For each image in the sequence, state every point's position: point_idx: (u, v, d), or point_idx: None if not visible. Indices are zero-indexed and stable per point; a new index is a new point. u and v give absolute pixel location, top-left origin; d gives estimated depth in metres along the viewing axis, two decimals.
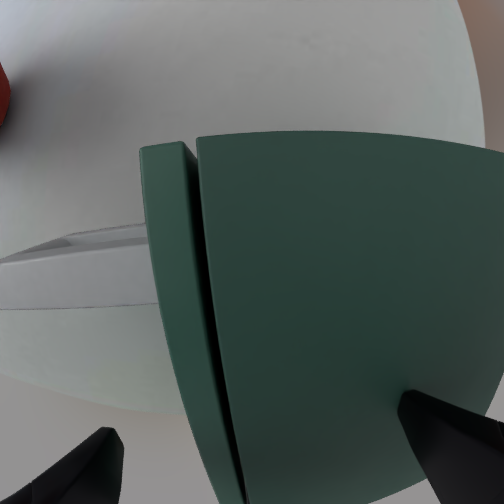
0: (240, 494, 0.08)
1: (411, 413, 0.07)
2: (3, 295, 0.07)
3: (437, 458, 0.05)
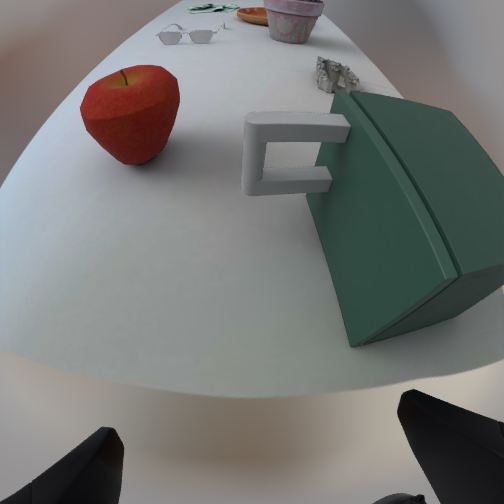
0: (425, 207, 0.13)
1: (411, 413, 0.07)
2: (267, 118, 0.17)
3: (437, 458, 0.05)
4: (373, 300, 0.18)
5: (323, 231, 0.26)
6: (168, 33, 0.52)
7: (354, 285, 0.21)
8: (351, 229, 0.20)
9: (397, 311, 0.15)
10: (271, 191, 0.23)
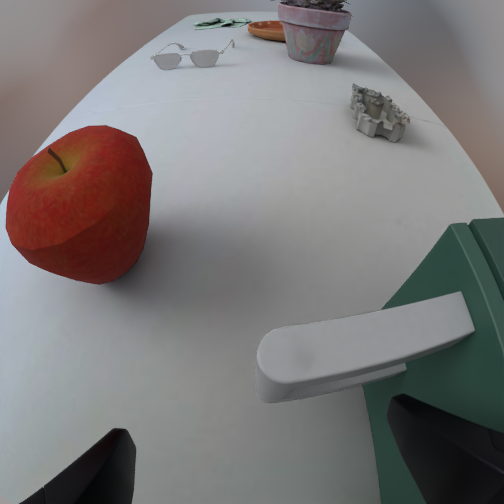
0: None
1: (400, 417, 0.07)
2: (313, 359, 0.07)
3: (425, 464, 0.05)
4: None
5: (375, 410, 0.15)
6: (165, 55, 0.46)
7: (404, 503, 0.09)
8: None
9: None
10: (305, 397, 0.12)
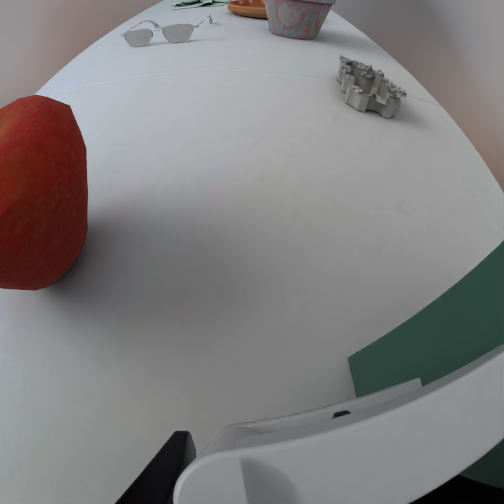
0: None
1: None
2: None
3: None
4: None
5: None
6: (136, 31, 0.38)
7: None
8: None
9: None
10: None
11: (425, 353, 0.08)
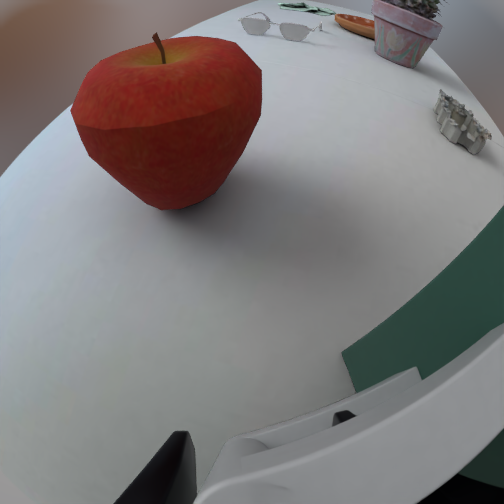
0: None
1: None
2: None
3: None
4: None
5: None
6: (254, 20, 0.43)
7: None
8: None
9: None
10: None
11: (419, 342, 0.08)
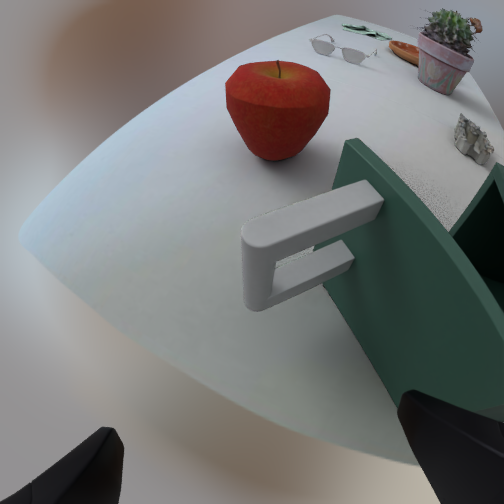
0: (503, 314, 0.09)
1: (411, 413, 0.07)
2: (277, 229, 0.12)
3: (437, 458, 0.05)
4: (434, 393, 0.13)
5: (347, 309, 0.21)
6: (322, 42, 0.54)
7: (404, 374, 0.16)
8: (395, 321, 0.15)
9: (466, 409, 0.10)
10: (285, 298, 0.17)
11: None
